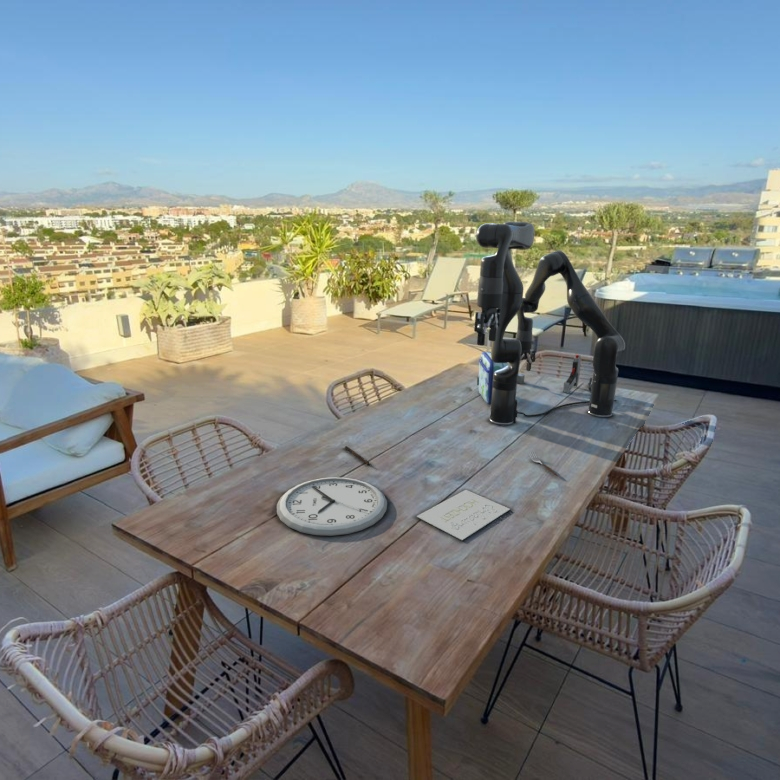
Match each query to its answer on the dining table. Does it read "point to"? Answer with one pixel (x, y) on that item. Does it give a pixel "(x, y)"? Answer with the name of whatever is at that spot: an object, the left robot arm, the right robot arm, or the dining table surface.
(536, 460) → the fork
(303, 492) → the wall clock
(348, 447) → the dark brown stick
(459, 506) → the invitation card
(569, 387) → the toy gun
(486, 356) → the lunch box
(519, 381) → the tin
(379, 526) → the dining table surface
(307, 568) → the dining table surface
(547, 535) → the dining table surface
